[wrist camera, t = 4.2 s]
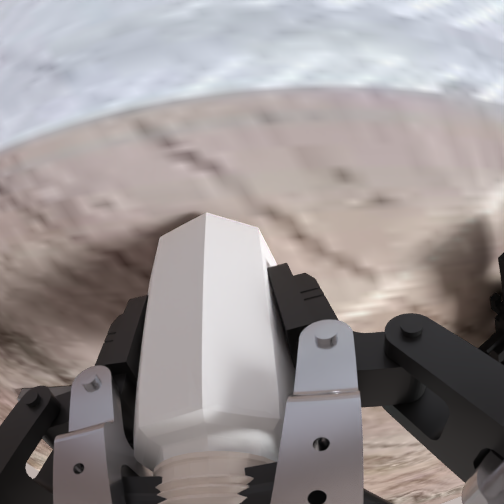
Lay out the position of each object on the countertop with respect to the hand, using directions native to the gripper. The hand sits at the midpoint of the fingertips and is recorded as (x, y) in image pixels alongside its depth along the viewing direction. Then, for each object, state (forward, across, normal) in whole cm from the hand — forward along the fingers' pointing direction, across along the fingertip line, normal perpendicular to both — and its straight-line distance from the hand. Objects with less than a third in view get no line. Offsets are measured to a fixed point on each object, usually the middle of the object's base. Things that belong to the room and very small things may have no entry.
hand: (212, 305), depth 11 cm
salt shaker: (+3, 0, 0) cm, 3 cm away
